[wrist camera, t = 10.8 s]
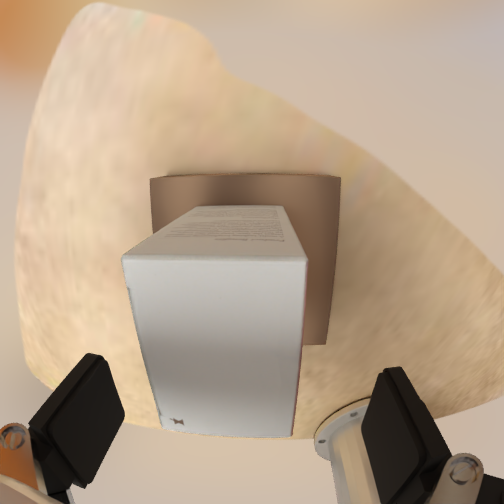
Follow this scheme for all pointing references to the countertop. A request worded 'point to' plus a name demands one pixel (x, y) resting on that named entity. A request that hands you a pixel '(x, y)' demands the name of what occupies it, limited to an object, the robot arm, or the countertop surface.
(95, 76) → the countertop surface
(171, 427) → the small box
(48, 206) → the countertop surface
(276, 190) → the walnut block
